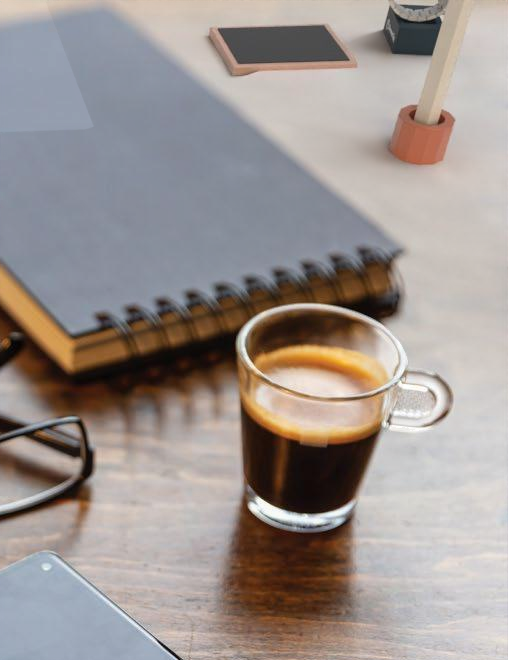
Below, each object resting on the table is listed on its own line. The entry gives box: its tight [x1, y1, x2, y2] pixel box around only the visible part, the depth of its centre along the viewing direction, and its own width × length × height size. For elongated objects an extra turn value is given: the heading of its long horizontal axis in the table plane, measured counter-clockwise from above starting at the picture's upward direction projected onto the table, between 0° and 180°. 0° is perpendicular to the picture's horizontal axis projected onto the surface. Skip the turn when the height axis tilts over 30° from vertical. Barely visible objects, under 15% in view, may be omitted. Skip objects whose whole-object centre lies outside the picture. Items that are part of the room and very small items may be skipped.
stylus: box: [413, 0, 476, 125], centre depth 106 cm, size 1×1×16 cm
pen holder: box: [388, 104, 456, 166], centre depth 110 cm, size 4×4×5 cm
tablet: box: [208, 23, 358, 76], centre depth 128 cm, size 12×9×1 cm
